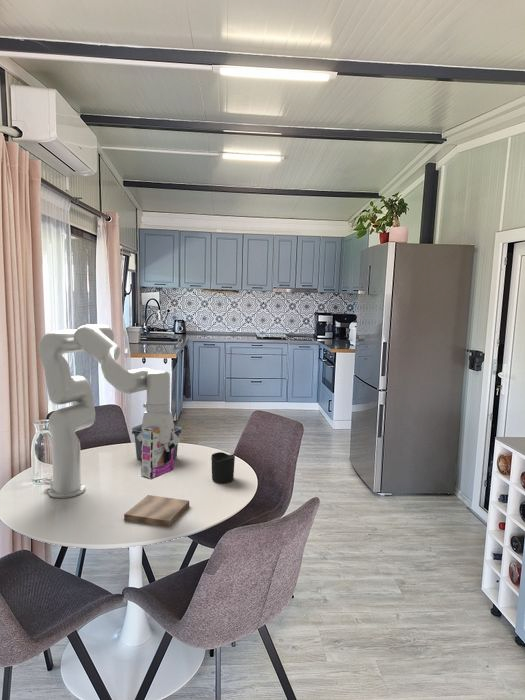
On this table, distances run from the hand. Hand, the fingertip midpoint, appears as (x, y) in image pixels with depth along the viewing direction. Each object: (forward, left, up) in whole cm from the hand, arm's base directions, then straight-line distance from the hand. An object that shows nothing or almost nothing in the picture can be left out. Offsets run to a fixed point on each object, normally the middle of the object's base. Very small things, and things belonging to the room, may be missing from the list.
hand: (158, 460), depth 155 cm
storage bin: (-26, +51, -19) cm, 60 cm away
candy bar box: (0, 0, -5) cm, 5 cm away
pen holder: (+11, +35, -19) cm, 41 cm away
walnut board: (0, 0, -18) cm, 18 cm away
